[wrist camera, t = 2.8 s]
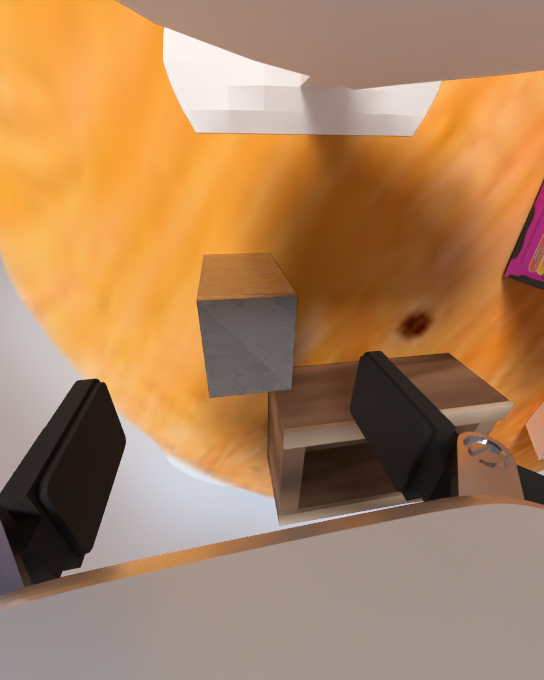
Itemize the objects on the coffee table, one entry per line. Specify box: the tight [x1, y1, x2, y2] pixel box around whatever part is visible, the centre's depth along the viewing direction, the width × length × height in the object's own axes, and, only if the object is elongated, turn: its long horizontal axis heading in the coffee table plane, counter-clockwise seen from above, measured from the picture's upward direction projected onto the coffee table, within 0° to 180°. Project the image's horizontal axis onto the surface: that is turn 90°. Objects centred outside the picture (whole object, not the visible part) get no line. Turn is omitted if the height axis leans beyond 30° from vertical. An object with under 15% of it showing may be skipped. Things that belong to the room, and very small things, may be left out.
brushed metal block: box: [197, 253, 298, 398], centre depth 15 cm, size 5×4×7 cm
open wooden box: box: [267, 353, 514, 526], centre depth 23 cm, size 11×16×6 cm
